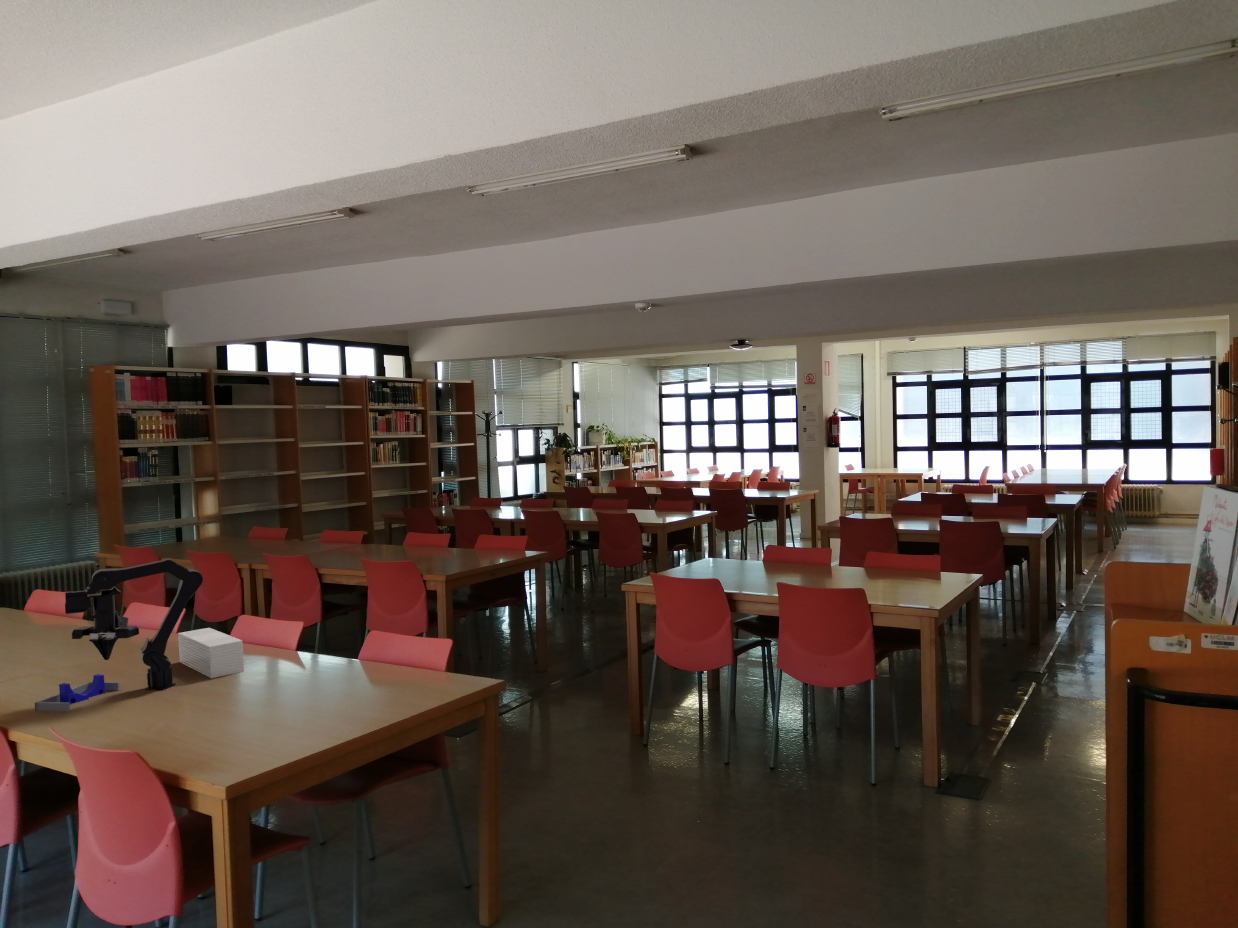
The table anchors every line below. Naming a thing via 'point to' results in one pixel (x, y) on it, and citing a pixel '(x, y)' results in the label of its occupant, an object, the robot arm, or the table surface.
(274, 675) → the table surface
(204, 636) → the stack of papers
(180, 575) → the robot arm
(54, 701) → the bracket
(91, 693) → the blue cradle mount
